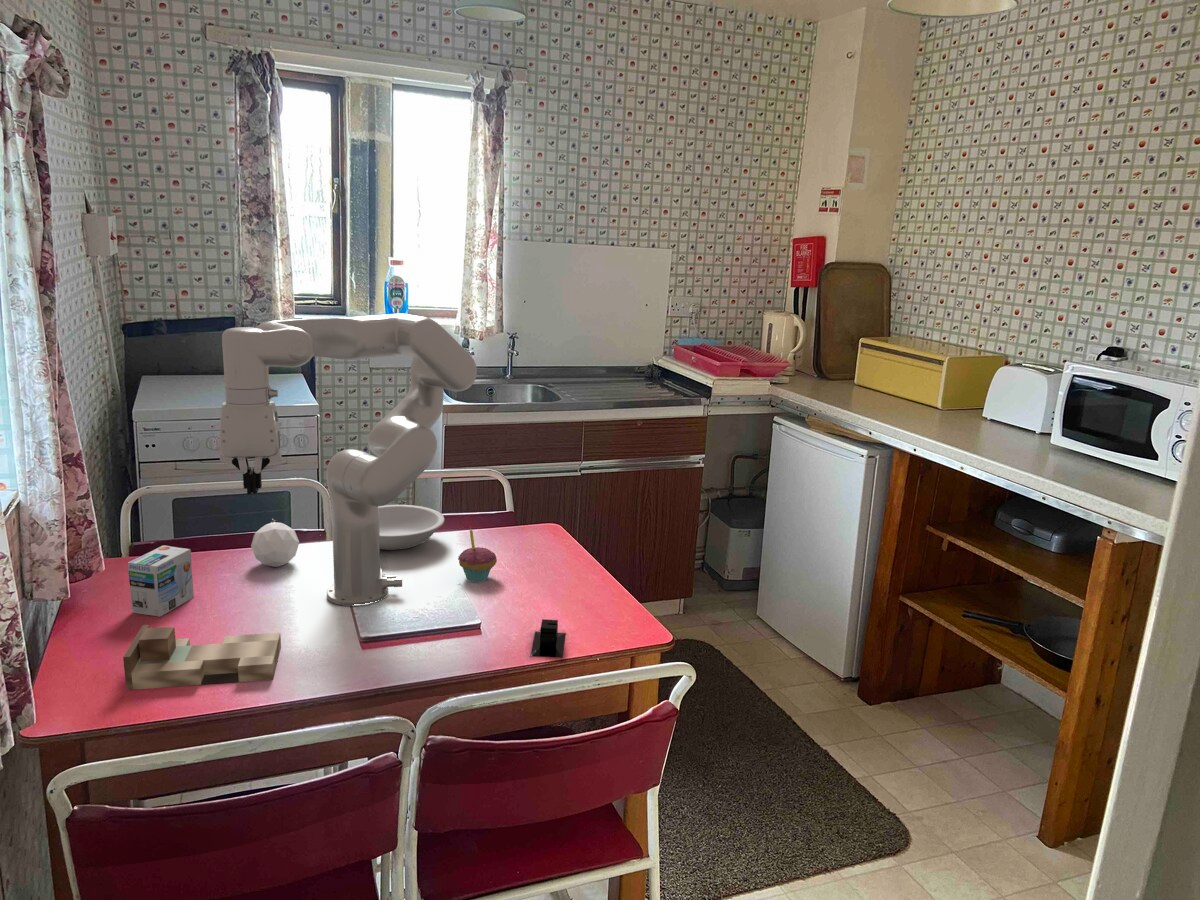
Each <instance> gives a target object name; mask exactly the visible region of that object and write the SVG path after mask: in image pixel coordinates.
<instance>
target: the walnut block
mask: <svg viewBox="0 0 1200 900" xmlns="http://www.w3.org/2000/svg"><path fill="white" fill-rule="evenodd" d="M175 629H176V627H175V626H163V627H149V628H146V630H145V631H144V633H143V634H142V636H141V637H140V639H139V648H140V658H141V661H157V660H170V658H171V656H172V654H173V652H174V651H175V649H176V640H175V639H176V631H175Z"/></svg>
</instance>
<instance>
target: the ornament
mask: <svg viewBox="0 0 1200 900" xmlns="http://www.w3.org/2000/svg"><path fill="white" fill-rule="evenodd" d="M271 520H272V521H271V522H270V523H267V524H265V525H263V526H261V527H260V528H259V529H258V530H257V531H256V532H254V534H253V538H252V542H251V545H250V547H251V550H252V552H253V555H254V557H255V559H256V560H257V561H259V562H260V563H262V564H263V565H265V566H267V567H275V568H277V567H281V566H283V565H285V564H287V563H289V562H290V561H291V560H292V559H293V558H295V557H296V554H297V551H298V548H299V545H300V541H299V538H298V535H297V533H296V531H295V530H294V529H293V528H292V527H290V526H288V525H286V524H285V523H284V522H283V523H282V522H277V518H272V519H271Z"/></svg>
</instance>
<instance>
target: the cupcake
mask: <svg viewBox="0 0 1200 900" xmlns="http://www.w3.org/2000/svg"><path fill="white" fill-rule="evenodd" d="M469 536H470V543H471V547H469V548H466V549H465V550H463V551H462V552H461V553H460V554H459V555H458V558H457V561H458V563H459V566H460V567H461V568H462V570H463V572H464V575H465V578H466V580H467V581H469V582H471V583H482V582H486V581H487V580H488V578H489V575H490V572H491V570H492V569H493V567H494V566H495V565H496V564H497V560H498V559H497V555H496V554H495V552H494V551H492V550H491V549H489V548H487V547H483V546H481V547H479V546H477V547H475V546H476V545H475V539H474V530H473V529H472V527H471V526H469Z"/></svg>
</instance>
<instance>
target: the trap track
mask: <svg viewBox="0 0 1200 900" xmlns="http://www.w3.org/2000/svg"><path fill="white" fill-rule="evenodd" d="M146 628H150V625H149V624H142V626H141V627H140V629H139V631H138V632H137V634H136V635H135V638H133V640H132V642H131V643H130V645H129V647H128V649H127V650H126V652H125V653H124V655H123V657H122V658H123V667H124V668H123V670H124V678H125V679H124V680H125V690H126V691H130V690H133V691H134V690H144V689H161V688H174V687H175V688H176V687H188V686H202V685H215V684H230V683H231V684H233V683H244V682H261V681H273V680H274V677H275V674H276V669H277V665H278V662H279V657H280V654H281V648H282V639H281V638H282V637H281V632H272V633H271V632H270V633H268V632H267V633H252V634H237V635H233V634H232V635H225V636H224V637H223V641H222V643H211V644H210V643H209V644H191V642H190V641H191V640H190V637H185V638H175V640H176V649H175V651H174V652H173V654H172V656H171V658H170V660H157V661H141V658H140V648H139V639H140V637H141V636H142V634H143V633H144V631H145V630H146Z"/></svg>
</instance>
